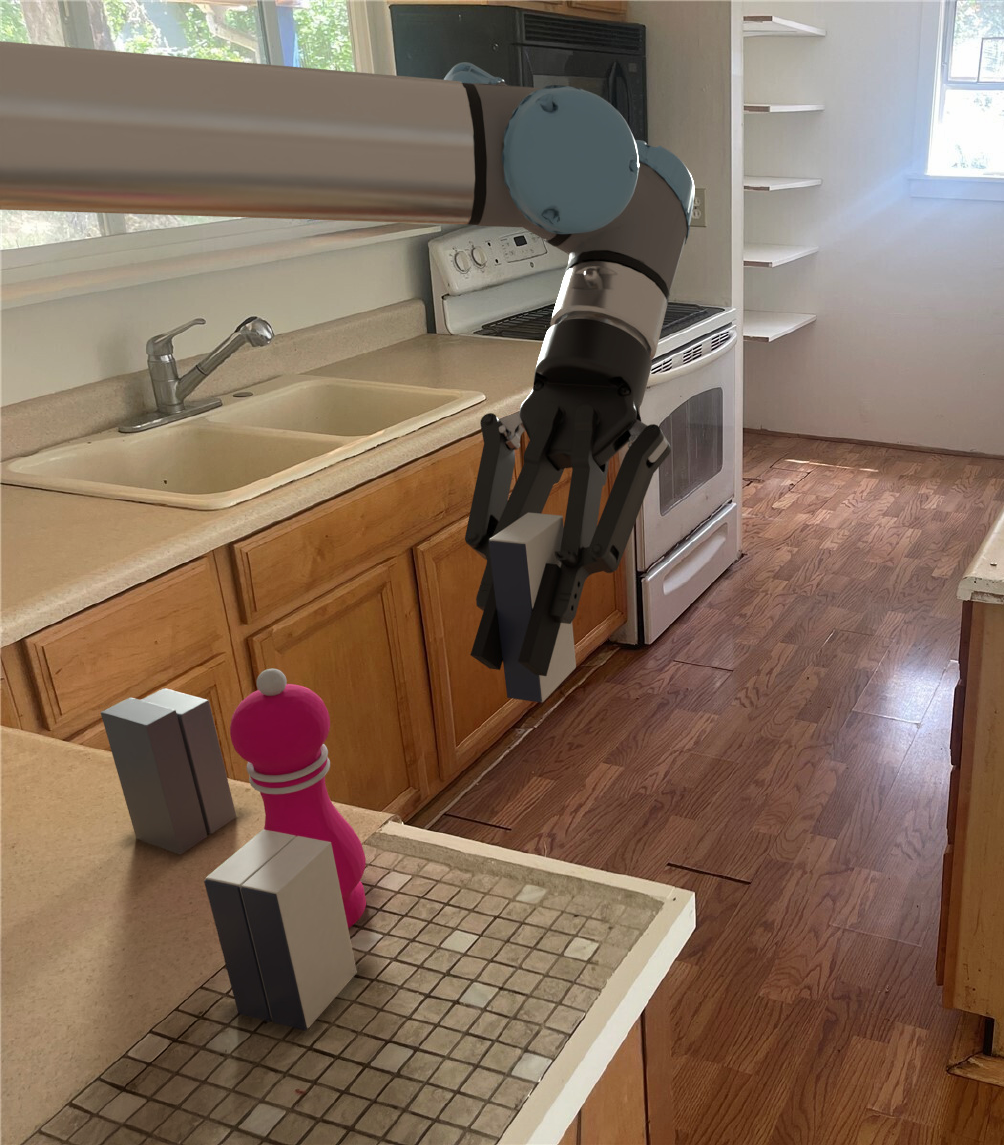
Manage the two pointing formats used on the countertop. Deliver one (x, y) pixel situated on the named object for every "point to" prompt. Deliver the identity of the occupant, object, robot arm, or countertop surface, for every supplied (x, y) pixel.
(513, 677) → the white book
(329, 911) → the grey tall block
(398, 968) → the countertop surface
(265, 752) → the pepper mill
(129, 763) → the grey books
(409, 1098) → the countertop surface
